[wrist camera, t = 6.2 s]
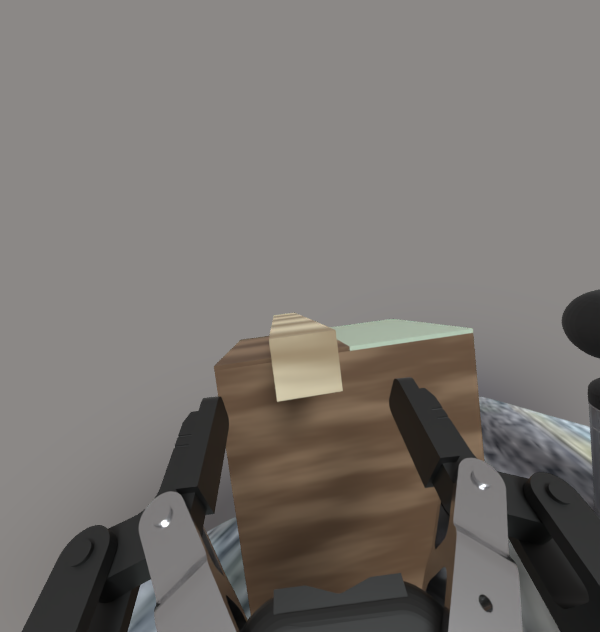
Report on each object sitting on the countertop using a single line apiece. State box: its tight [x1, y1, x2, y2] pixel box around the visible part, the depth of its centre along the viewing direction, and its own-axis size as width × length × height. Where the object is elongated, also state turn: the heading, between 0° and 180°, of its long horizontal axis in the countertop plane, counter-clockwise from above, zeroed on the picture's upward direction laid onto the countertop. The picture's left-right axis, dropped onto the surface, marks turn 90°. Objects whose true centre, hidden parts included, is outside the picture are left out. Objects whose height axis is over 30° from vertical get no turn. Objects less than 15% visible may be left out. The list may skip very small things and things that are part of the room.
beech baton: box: [269, 313, 343, 402], centre depth 25 cm, size 26×3×3 cm, turn 6°
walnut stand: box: [214, 319, 484, 616], centre depth 31 cm, size 16×24×32 cm, turn 96°
